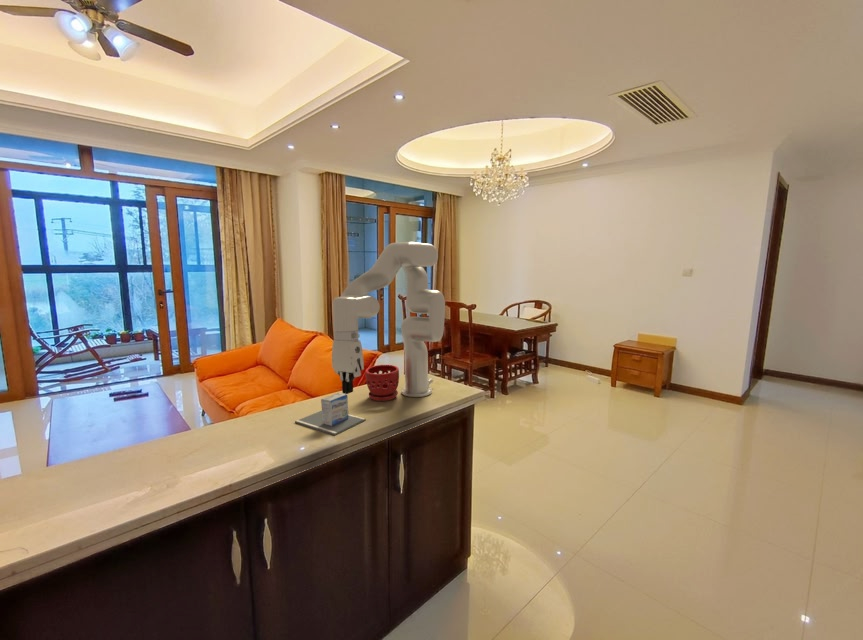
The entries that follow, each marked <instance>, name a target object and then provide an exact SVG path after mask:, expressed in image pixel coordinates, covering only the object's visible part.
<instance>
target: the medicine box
mask: <svg viewBox="0 0 863 640" xmlns="http://www.w3.org/2000/svg"><path fill="white" fill-rule="evenodd" d="M348 396H349V395H348V394H344V393H342V392H337V393H334V394H332V395H330V396H327V397H324V398H321V400H320V402H321V403H320V404H321V411H322V421H323V424H326V425H330V426H334V425H336V424H338V423H340V422H342V421H344V420H346V419H348V418H349V416H348V414H349V400H348Z"/></svg>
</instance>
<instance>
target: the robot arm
mask: <svg viewBox="0 0 863 640" xmlns="http://www.w3.org/2000/svg"><path fill="white" fill-rule="evenodd" d="M438 259H439V252H438V249H437V248H436V247H435V245H433V244H431V243H425V242H424V243H423V242H415V241H404V242H400V241H399V242H392V243H388V244H387V245H386V246H385V247H384V249H383V250H382V251H381V253H380V254H379V256H378V258H377V259H376V261H375V262H374V263H373V264H372V267H371V268H370V269H369V270H368V271H366V272H364V273H362V274H361V275H360V276H358V277H356V278H355V279H354V280H352V281H351V282H350V283H349V284H348V285H347V286H346V288H344V290H343V292H342V293H341V295H340V296H338V297H334V298H333V301H332V315H333V316H332V317H333V340H332V341H333V342H332V349H331V366H332V369H333V372H334V373H335V374H336V375H338V376H339V379H340V381H341V386H342V387H341V389H342V391H341V393H343V394H347V395H349V394H351V393H353V392H354V381H355V379H356V378H357V377H361V376H362V371H363V370H364V368H365V367H364V366H365V365H364V364H365V363H364V350H363V347H362V346H363V345H362V343H361V340H359V338H360V334H359V319H371V318H374V317H375V316H376V315H378V314H379V311H380V308H381V307H380V302H379V300H378V299H377V298H376V297H374V296H372V295H368V294H369V293H371V292H374V291H377V290H381V289H383V288H385V287H388V286H389V285H390V284H391V283H392V282H393V281H394V279H395V277H396V275H397V274H398V272H400V271H399V270H400V269H401V268H402V269H403V271H404V273H405V275H406V301H405V302H406V309H407V311H408V312H410V313H413V314H424V315H428V317H427V316H426V317H424V316H407V317H406V318H404V319H403V320H402V323H401V325H400V331H401V335H402V339H403V340H402V341H403V350H404V351H403V355H404V356H403V358H404V387H403V388H402V389H401V394H402V395H403V396H405V397H410V398H420V397H421V398H423V397H427V396H430V395H431V394H432V392H433V388H432V387H430V384H432V383H434V379H433V378H429V361H428V360H429V357H428V356H429V355H428V354H429V352H428V348H427V345H426V343H425V342H427V343H428V342H431V343H432V342H433V343H437V342H439V341H441V340H442V338H443V336H444V332H445V331H444V329H445V315H446V313H445V312H446V301H445V297H444V294H443V293H442V292H441V291H439V290H437V289H429V277H428V273H427V271H426V270H425V268H426V267H428V268H429V267H433V266H434V265H436V264H437V262H438ZM424 267H425V268H424Z"/></svg>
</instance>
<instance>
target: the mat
mask: <svg viewBox="0 0 863 640" xmlns="http://www.w3.org/2000/svg"><path fill="white" fill-rule="evenodd" d="M348 416H349V418H348V419H346V420H344V421H342V422H340V423H338V424H336V425H334V426H330V425H326V424H323V421H322V410H319V411H317V412H314V413H312V414H310V415H307V416H305V417H302V418H300V419H296V420H295V421H294V423H295V424H297V425H300V426H304V427H306V428H309V429H314V430H315V431H319V432H321V433H322V432H323V433H325V434H329V435H332V436H337V435H339V434H341V433H342V432H344V431H345V432H346V431H347V430H349V429H352V428H353V427H355V426H357V425H359V424H361V423H363V422H365V421H366V418H364V417H360V416H356V415H355V414H354V415H352V414H349V413H348Z"/></svg>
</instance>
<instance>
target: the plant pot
mask: <svg viewBox="0 0 863 640" xmlns="http://www.w3.org/2000/svg"><path fill="white" fill-rule="evenodd" d="M380 372H381V373H380ZM365 380H366V385H367V389H368V391H369V392H368V396H369V398H370V399H372V400H374V401H378V402H385V401H390V400H393V399H395V398H396V397H397V396H398V394H399V393H398V392H399V391H398V386H399V381H400V370H399V367H398V366H396V365H393V364H377V365H372V366H369V367H368V368H366V369H365Z"/></svg>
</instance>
